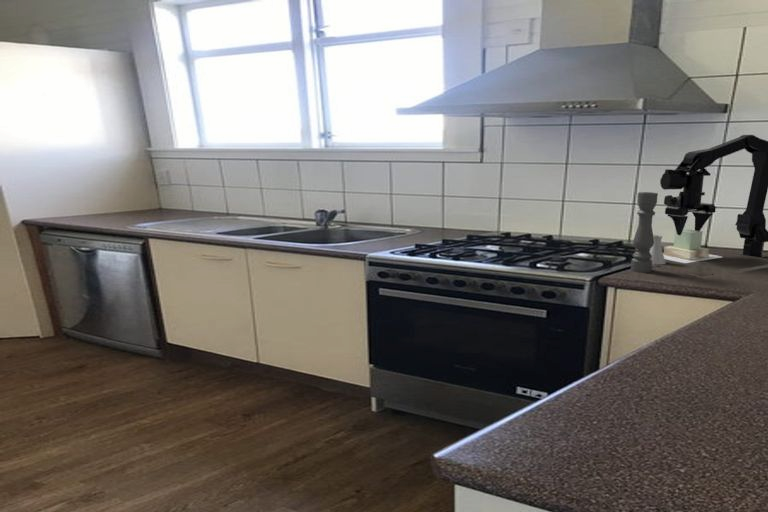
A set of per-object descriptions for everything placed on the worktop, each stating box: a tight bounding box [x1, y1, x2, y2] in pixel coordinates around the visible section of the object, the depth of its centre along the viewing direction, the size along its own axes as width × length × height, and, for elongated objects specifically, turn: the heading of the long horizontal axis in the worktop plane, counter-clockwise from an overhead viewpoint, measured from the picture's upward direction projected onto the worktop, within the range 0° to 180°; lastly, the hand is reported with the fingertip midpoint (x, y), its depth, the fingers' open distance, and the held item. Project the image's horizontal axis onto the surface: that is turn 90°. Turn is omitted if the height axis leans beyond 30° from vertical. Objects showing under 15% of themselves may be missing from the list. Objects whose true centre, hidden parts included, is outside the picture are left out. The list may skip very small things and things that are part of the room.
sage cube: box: [673, 228, 703, 250], centre depth 192 cm, size 6×6×6 cm
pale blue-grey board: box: [663, 252, 722, 264], centre depth 193 cm, size 20×14×1 cm
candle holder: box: [630, 191, 659, 273], centre depth 176 cm, size 6×6×25 cm
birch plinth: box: [663, 245, 711, 260], centre depth 193 cm, size 10×10×3 cm
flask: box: [649, 234, 667, 268], centre depth 184 cm, size 7×7×10 cm
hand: (687, 233), depth 191 cm, fingers open, 9 cm apart
